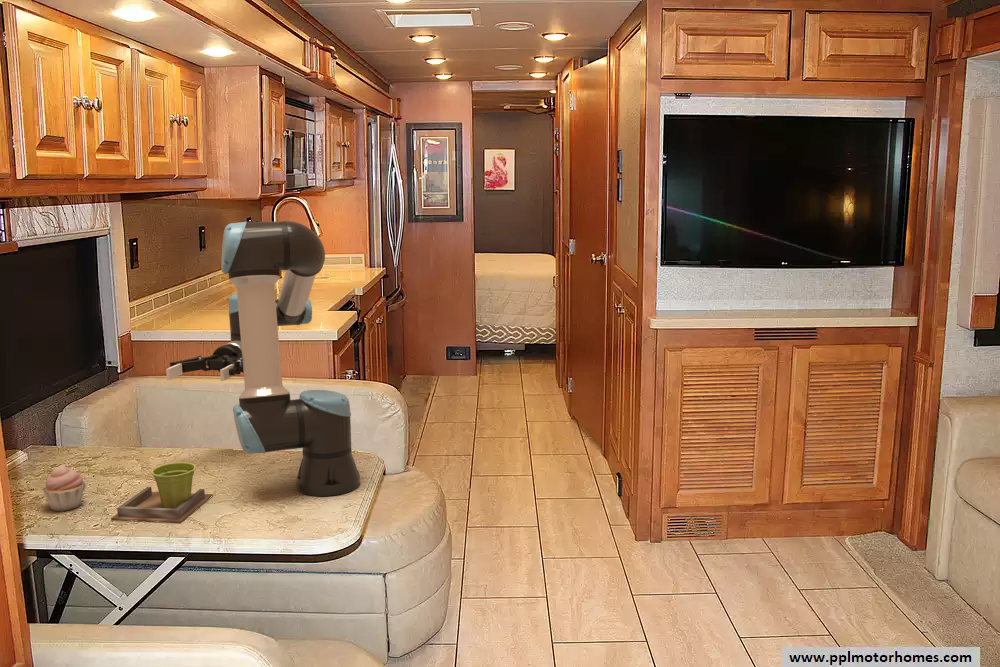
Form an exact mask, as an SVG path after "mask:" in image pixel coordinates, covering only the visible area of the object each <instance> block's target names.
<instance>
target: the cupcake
mask: <svg viewBox="0 0 1000 667" xmlns="http://www.w3.org/2000/svg"><path fill="white" fill-rule="evenodd" d="M87 485H88V483H86V480H84V476H82V474H80V473H78V471H76V470H75V469H72V468H68V467H66V465H65V464H61V465H59V466H57V467H55V468H54V469H53V470H52V471H51V474H50V475H49V476H48V477H47V478H46V481H45V486H44V487H42V488H41V491H42V493H43V494H44V496H45V498H46V500H47V503H48V505H49V508H50V509H51V510H52V511H55V512H56V511H57V512H63V511H69V510H73V509H76V508H78V507H80V505H81V504H82V500H83V495H84V491H85V489H86V487H87Z"/></svg>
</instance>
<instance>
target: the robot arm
mask: <svg viewBox="0 0 1000 667" xmlns="http://www.w3.org/2000/svg"><path fill="white" fill-rule="evenodd" d="M220 258H221V260H220V261H221V272H222V273H223V274H226V275H227V274H228V280H229V282H230V283H231V284H232V285H233V286H235V288H236V293H235V294H232V295H230V296H229V298H228V317H229V330H230V331H229V332H230V342H227V343H225V344H224V345H221V346H219V347H217V348H216V349H215V350H214V352H213V353H212V354H211V355H210V356H201V355H198V356H196V357H191V358H187V359H182V360H177V361H171V362H170V363H169V367H168V368H166V369H165V372H166V380H167V381H171V380H173V379H175V378H178V377H181V376H182V375H183V373H189V372H197V371H203V372H207V371H218V372H219V376H220V381H221V382H225V381H226V380H229V379H230V378H232V377H234V376H235V375H238V376H239V375H241V373H242V374H243V381H244V383H243V384H244V391H243V392H241V394H240V395H239V396H238V400H239V402H238V404H236V405H234V406H233V408H232V412H233V418H234V425H235V428H236V433H237V436H238V440H239V445H240V446H241V448H242V450H243V451H244V453H246V454H250V455H251V454H252V455H253V454H267V453H272V452H279V451H280V452H281V451H288V450H297V449H302V458H301V461H300V466H299V469H298V473H297V476H296V489H297V491H299V492H300V493H301V494H304V495H308V496H315V497H329V496H330V497H333V496H339V495H344V494H347V493H350V492H352V491H354V490H356V489H357V488H358V487H360V485H361V476H360V472H359V470H358V468H357V464H356V462H355V459H354V456H353V453H352V428H351V416H352V412H351V408H350V406H351V405H350V399H349V398H348V397H347V396H346V395H345V394H343V393H340V392H337V391H333V390H326V389H308V390H304V391H301V392H300V393H299V395H298V399H297V398H295V399H291V392H290V391H289V390H288V389H287V388H286V387H285V386H284V385H283V376H282V375H283V374H282V363H281V352H280V340H279V337H280V336H279V329H278V327H282V326H283V327H285V326H301V325H306V324H310V323H311V322H312V319H313V306H312V302H311V299H310V298H309V297H310V295H311V292H312V288H313V286H314V281H315V278H316V275H317V274H319V273H320V272H321V270H322V269H323V267H324V263H325V261H326V250H325V248H324V244H323V242H322V240H321V239H320V236H318V235H317V234H316V233H315V232H314V231H313V230H312V229H311V228H310V227H308V226H307V225H304V224H302V223H299V222H296V221H291V220H285V221H242V222H231V223H229V224H226V226H225V228H224V230H223V236H222V246H221V257H220ZM281 271H285V272H284V277H283V281H282V285H281V289H280V293H279V296H278V299H277V298H276V291H275V290H276V289H275V284H277V282H278V281H279V280H280V279H281Z"/></svg>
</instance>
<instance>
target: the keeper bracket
mask: <svg viewBox="0 0 1000 667" xmlns="http://www.w3.org/2000/svg"><path fill="white" fill-rule="evenodd" d="M213 495H214V493H206V492H205V488H200V489H198V490H197V491H196V492H194V493H192V492H191V497H190V498H188V499H187V500H186V501H184V502H183V503H182V504H181V505H179V506H178V507H177V508H176V509H172V508H163V507H162V504H161V499H160V495H159V491H152V486H146V487H145V488H143V489H142V490H140V491H139V492H138V493H136V494H135V495H134V496H132V497H131V498H129V499H128V500H126V501H125V502H123V503H122V504H121V505H119V506H118V507H117V508H116V511H117V513H116V514H115V515H113V516H112V517H111V518H110V520H111V521H115V520H116V522H118V521H117V520H129V521H128V522H132V521H131V520H137V521H136V522H138V521H159V522H158V523H160V522H171V523H170V524H182V523H183V522H184V521H185V520H186V519H187V517H188V516H189V515H190V514H191V513H192V514H193V512H194V511H195V510H196V509H197V508H198V509H200V508H201V507H202V506H203V505H204V504H205V503H206V501H207V500H208V499H209V498H210V497H211V496H212V497H214V496H213ZM212 497H211V498H212ZM211 498H210V499H211ZM210 499H209V500H210ZM209 500H208V501H209ZM208 501H207V502H208ZM204 502H205V503H204ZM203 503H204V504H203ZM202 504H203V505H202ZM201 505H202V506H201ZM200 506H201V507H200ZM198 509H197V510H198ZM197 510H196V511H197ZM196 511H195V512H196ZM195 512H194V513H195ZM192 514H191V515H192ZM191 515H190V516H191ZM190 516H189V517H190ZM189 517H188V518H189ZM181 522H182V523H181Z"/></svg>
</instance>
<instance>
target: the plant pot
mask: <svg viewBox="0 0 1000 667" xmlns="http://www.w3.org/2000/svg"><path fill="white" fill-rule="evenodd" d="M195 471H196V465H195V464H194V463H191V462H171V463H164V464H162V465H158V466H156V467H154V468H153V469H152V470H151V473H150V474H151V475H152V476H153V478H154V480H155V483H156V486H157V492H159V495H160V499H161V504H162V507H163V508H172V509H176V508H177V507H178V506H179V505H181V504H182V503H183V502H184V501H186V500H187V499H188V498H190V497H191V493H192V487H193V478H194V477H193V476H194V472H195Z"/></svg>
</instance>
